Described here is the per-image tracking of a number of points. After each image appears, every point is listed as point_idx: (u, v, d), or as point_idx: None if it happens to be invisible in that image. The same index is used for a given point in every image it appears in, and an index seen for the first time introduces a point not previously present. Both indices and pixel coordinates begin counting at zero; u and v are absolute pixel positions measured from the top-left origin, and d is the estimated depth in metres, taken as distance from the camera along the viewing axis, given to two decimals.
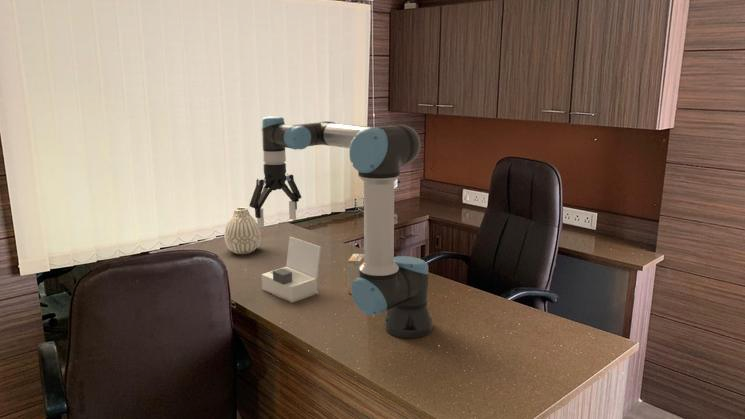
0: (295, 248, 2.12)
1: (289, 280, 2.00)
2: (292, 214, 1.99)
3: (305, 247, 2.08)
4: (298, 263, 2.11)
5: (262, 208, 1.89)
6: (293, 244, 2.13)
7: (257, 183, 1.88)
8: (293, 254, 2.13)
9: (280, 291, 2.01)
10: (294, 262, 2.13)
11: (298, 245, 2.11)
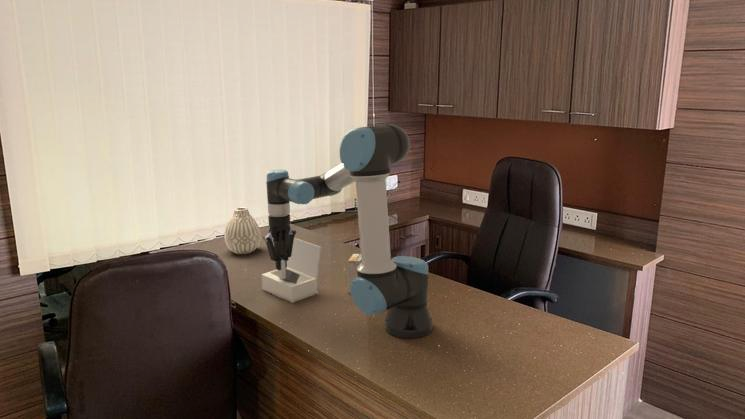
0: (295, 248, 2.12)
1: (294, 281, 2.02)
2: None
3: (305, 247, 2.08)
4: (298, 263, 2.11)
5: (282, 261, 1.99)
6: (293, 244, 2.13)
7: (265, 241, 1.94)
8: (293, 254, 2.13)
9: (280, 291, 2.01)
10: (294, 262, 2.13)
11: (298, 245, 2.11)
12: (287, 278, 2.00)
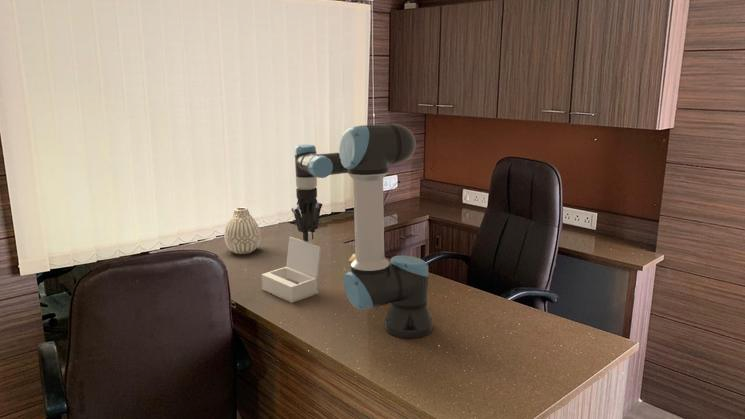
0: (295, 248, 2.12)
1: None
2: None
3: (305, 247, 2.08)
4: (298, 263, 2.11)
5: (309, 232, 2.08)
6: (293, 244, 2.13)
7: (294, 212, 2.03)
8: (293, 254, 2.13)
9: (280, 291, 2.01)
10: (294, 262, 2.13)
11: (298, 245, 2.11)
12: None
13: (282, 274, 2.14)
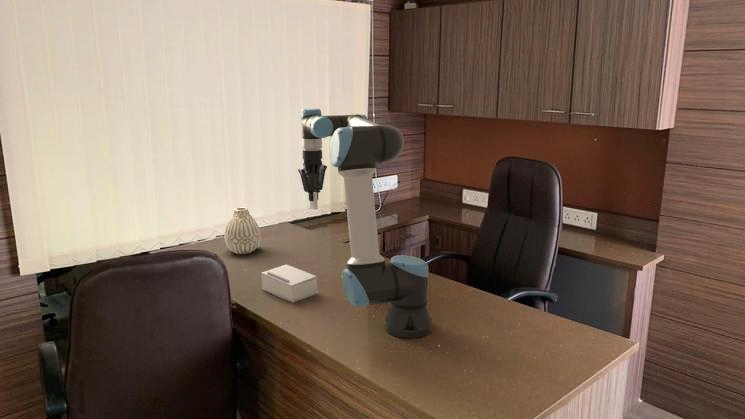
0: None
1: None
2: None
3: None
4: None
5: (315, 193, 2.19)
6: None
7: (300, 173, 2.14)
8: None
9: (280, 291, 2.01)
10: None
11: None
12: None
13: None
